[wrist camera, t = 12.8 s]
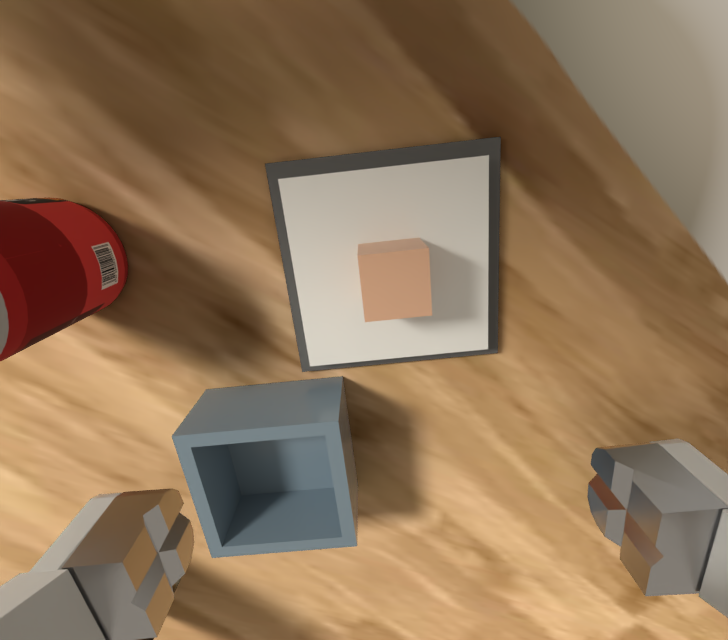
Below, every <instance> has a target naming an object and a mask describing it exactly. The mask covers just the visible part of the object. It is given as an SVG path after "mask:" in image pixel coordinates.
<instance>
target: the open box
mask: <svg viewBox="0 0 728 640" xmlns="http://www.w3.org/2000/svg"><path fill="white" fill-rule="evenodd" d="M172 439H173V442H174V445H175V448H176V451H177V454H178V457H179V460H180V463H181V466H182V469H183V472H184V475H185V478H186V481H187V484H188V487H189V490H190V493H191V496H192V499H193V502H194V505H195V508H196V511H197V514H198V517H199V520H200V523H201V526H202V529H203V533H204V536H205V539H206V542H207V545H208V548H209V551H210V554H211V557H212V558H216V557H229V556H241V555H253V554H266V553H278V552H291V551H303V550H315V549H328V548H340V547H353V546H357V527H358V482H357V474H356V467H355V460H354V453H353V446H352V439H351V432H350V424H349V417H348V410H347V403H346V396H345V389H344V382H343V376H342V377H331V378H321V379H311V380H300V381H290V382H279V383H269V384H258V385H248V386H237V387H227V388H216V389H206V391H205V392H204V393H203V395H202V396H201V397H200V399H199V400H198V401H197V403H196V404H195V405H194V407H193V408H192V410H191V411H190V412H189V414H188V415H187V416H186V418H185V419H184V420H183V422H182V423H181V424H180V426H179V427H178V429H177V430H176V431H175V433H174V434H173V435H172Z"/></svg>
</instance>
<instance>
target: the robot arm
mask: <svg viewBox="0 0 728 640" xmlns="http://www.w3.org/2000/svg"><path fill="white" fill-rule="evenodd" d="M591 466H592V467H593V468H594V470H595V471H596V472H597V475H596V476H595V477H594V478H593V479H592V480H591V481H590V482H589V485H588V501H589V505H590V510H591V513H592V515H593V517H594V520H595V522H596V524H597V526H598V527H599V529H600V530H601V532H602V533H603V535H604V536H605V537H606V538H608V539H610V540H611V541H613V542H614V543H616V544H617V545H619V546H621V549H620V560H621V562H622V563H623V564H624V566H625V567H626V569H627V570H628V572H629V573H630V575H631V576H632V578H633V579H634V581H635V582H636V583H637V585H638V586H639V588H640V589H641V591H642V592H643V594H644V595H645V596H658V595H677V594H696V593H699V597H700V598H702V599H703V600H704V601H706V602H707V603H708V604H710V605H711V606H712V607H714V608H715V609H716V610H718V611H719V612H721V613H722V614H723V615H725V616H726V617H727V618H728V474H727V473H725V472H724V471H723V470H722V469H720V468H719V467H718V466H717V465H715V464H714V463H713V462H712V461H711V460H709V459H708V458H707V457H706V456H704V455H703V454H702V453H701V452H699V451H698V450H697V449H696V448H695V447H693V446H692V445H691V444H690V443H688V442H686V441H684V440H681V439H670V440H661V441H653V442H650V443H638V444H628V445H618V446H609V447H599V448H596V449H595V450H594V452H593V454H592V459H591ZM183 504H184V502H183V500H182V498H181V495H180V493H179V491H178V490H175V489H159V490H145V491H130V492H123V493H110V494H99V495H97V496H95V497H93V498H91V499H90V500H89V501H88V502H87V504H86V505H85V506H84V507H83V508H82V509H81V511H80V512H79V513H78V514H77V515H76V517H75V518H74V519H73V520H72V521H71V523H70V524H69V525H68V526H67V527H66V529H65V530H64V531H63V532H62V533H61V535H60V536H59V537H58V538H57V539H56V540H55V542H54V543H53V544H52V545H51V546H50V548H49V549H48V550H47V551H46V552H45V554H44V555H43V556H42V557H41V558H40V560H39V561H38V562H37V563H36V564H35V566H34V567H33V568H32V569H31V570H30V571H29V572H28V573H20V574H18V575H17V576H15V577H14V578H12V579H11V580H9V581H8V582H6V583H5V584H3V585H2V586H0V640H137V639H146V638H154V637H157V636H158V634H159V632H160V630H161V627H162V625H163V623H164V621H165V618H166V616H167V614H168V612H169V609H170V607H171V605H172V603H173V600H174V598H175V597H174V593H173V589H172V586H173V585H174V584H175V583H176V582H177V581H178V580H179V579H180V578H181V577H182V576H183V575H184V574H185V573H186V570H187V568H188V566H189V563H190V561H191V558H192V552H193V546H194V534H193V528H192V525H191V522H190V520H189V519H187V518H186V517H185V516H183V515H182V514H181V513H179V512H180V510H181V508H182V506H183Z"/></svg>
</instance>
